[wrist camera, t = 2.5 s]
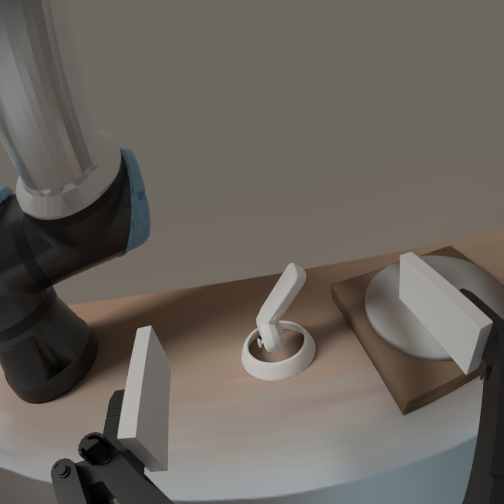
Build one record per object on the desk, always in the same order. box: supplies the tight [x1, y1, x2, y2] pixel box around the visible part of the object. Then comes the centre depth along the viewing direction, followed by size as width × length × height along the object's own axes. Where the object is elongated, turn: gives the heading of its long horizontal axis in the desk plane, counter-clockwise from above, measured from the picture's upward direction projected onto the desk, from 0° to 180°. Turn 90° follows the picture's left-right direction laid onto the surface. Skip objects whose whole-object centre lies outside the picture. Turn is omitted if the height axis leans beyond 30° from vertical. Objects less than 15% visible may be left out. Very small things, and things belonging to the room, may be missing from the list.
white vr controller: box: [241, 263, 316, 381], centre depth 30 cm, size 8×12×7 cm
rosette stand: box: [331, 246, 504, 415], centre depth 29 cm, size 18×18×3 cm
